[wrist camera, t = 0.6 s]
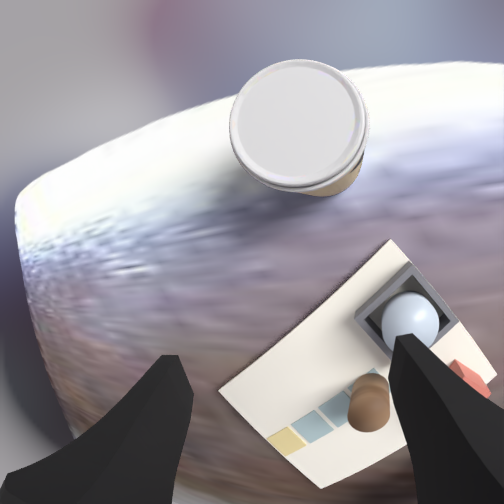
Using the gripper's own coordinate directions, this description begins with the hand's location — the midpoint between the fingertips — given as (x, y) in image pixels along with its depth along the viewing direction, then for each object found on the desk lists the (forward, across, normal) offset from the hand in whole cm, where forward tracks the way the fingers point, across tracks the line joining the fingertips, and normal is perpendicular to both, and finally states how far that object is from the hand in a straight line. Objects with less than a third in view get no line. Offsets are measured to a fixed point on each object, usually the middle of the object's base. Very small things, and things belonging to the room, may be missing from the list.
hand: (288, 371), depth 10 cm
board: (+14, -6, +19) cm, 24 cm away
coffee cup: (+24, -5, -3) cm, 24 cm away
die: (+10, -16, +17) cm, 26 cm away
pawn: (+12, -7, +18) cm, 23 cm away
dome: (+13, -10, +9) cm, 19 cm away
